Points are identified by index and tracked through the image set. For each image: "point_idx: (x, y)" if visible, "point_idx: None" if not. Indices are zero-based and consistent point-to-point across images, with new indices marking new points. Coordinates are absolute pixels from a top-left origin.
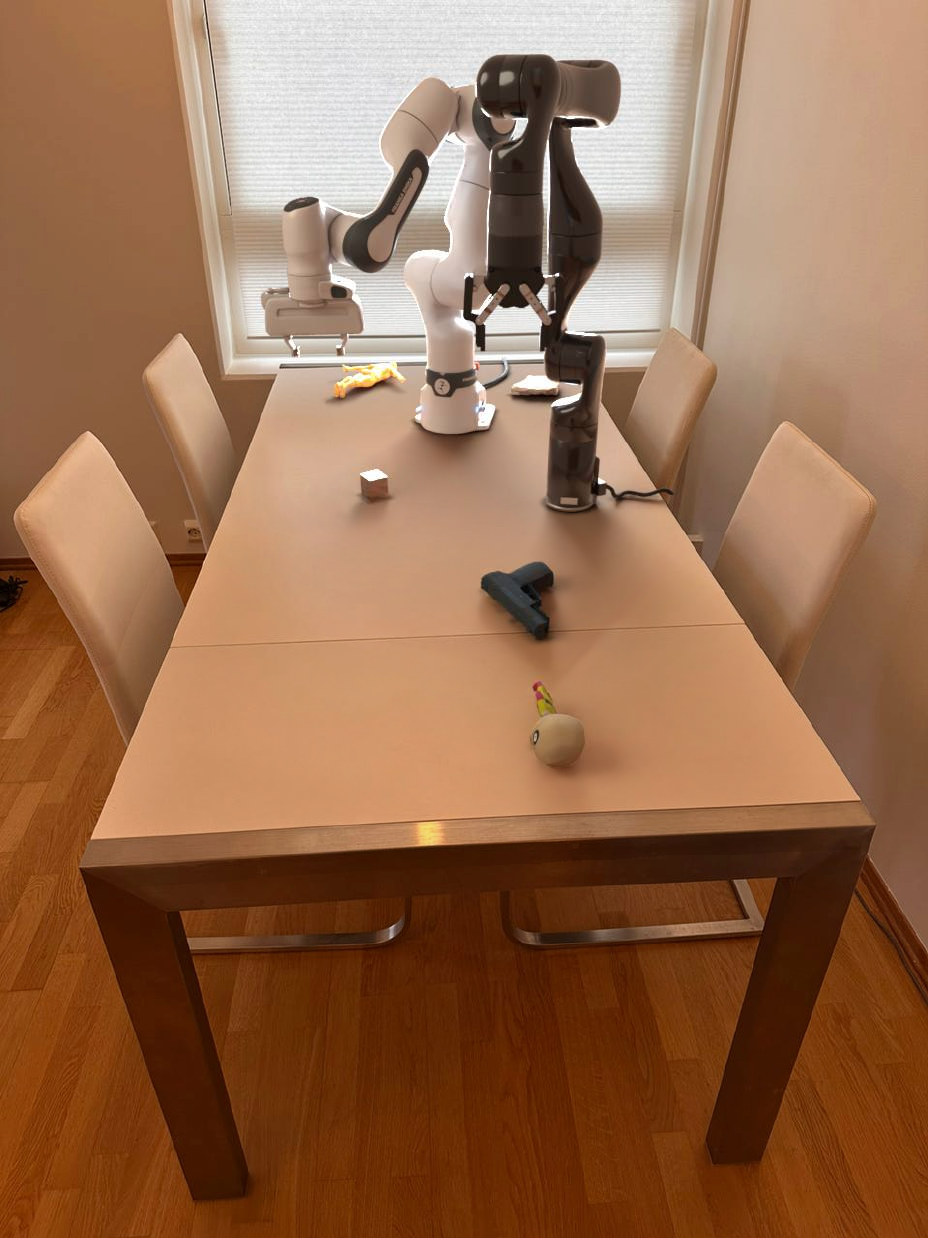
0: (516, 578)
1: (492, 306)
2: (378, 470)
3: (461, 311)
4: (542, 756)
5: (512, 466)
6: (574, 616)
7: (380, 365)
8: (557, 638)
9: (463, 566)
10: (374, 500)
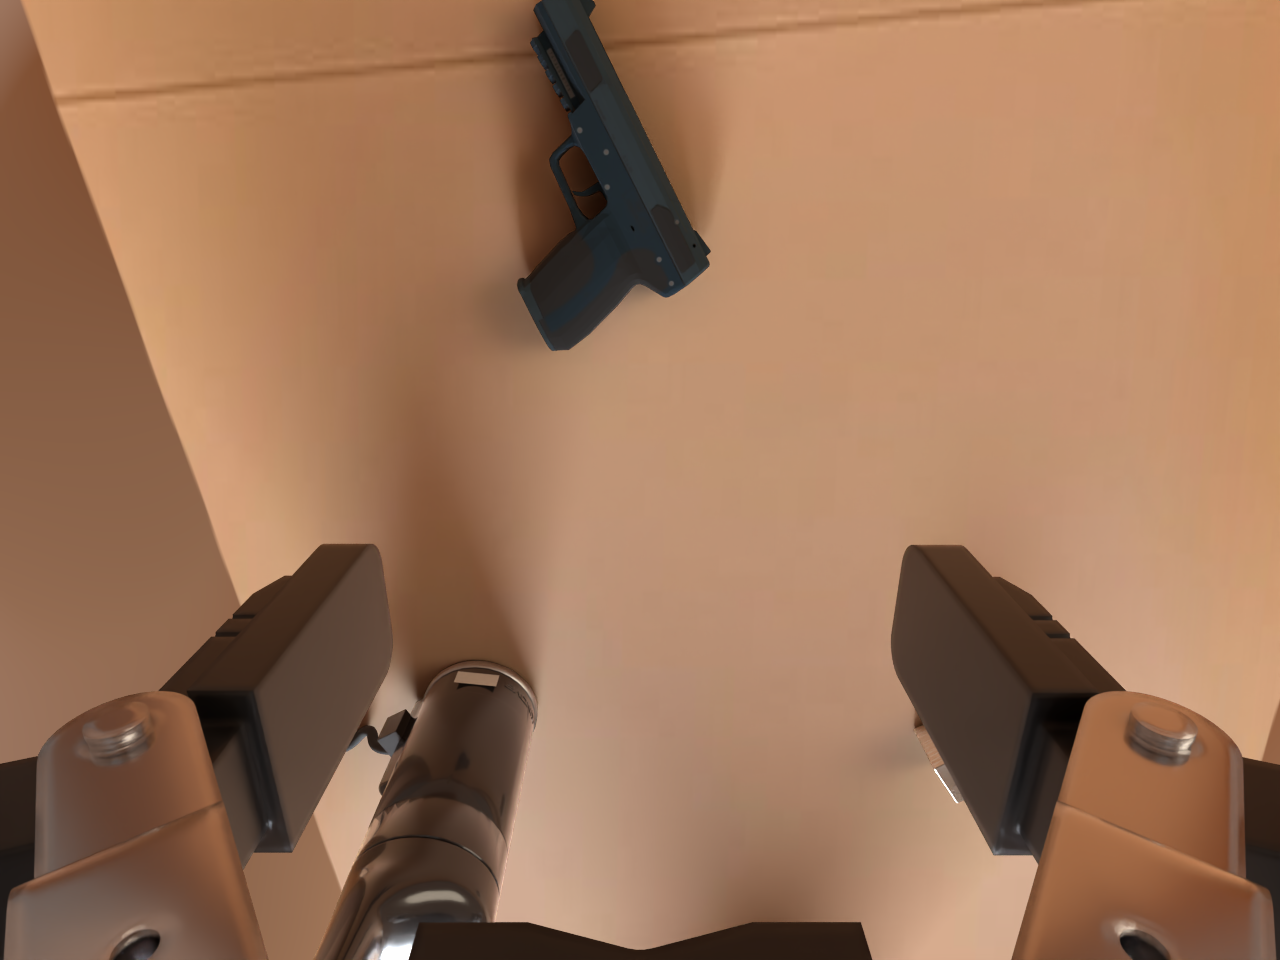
0: (616, 247)
1: (1125, 894)
2: (954, 798)
3: None
4: None
5: (613, 872)
6: (469, 137)
7: None
8: (513, 16)
9: (745, 395)
10: None
